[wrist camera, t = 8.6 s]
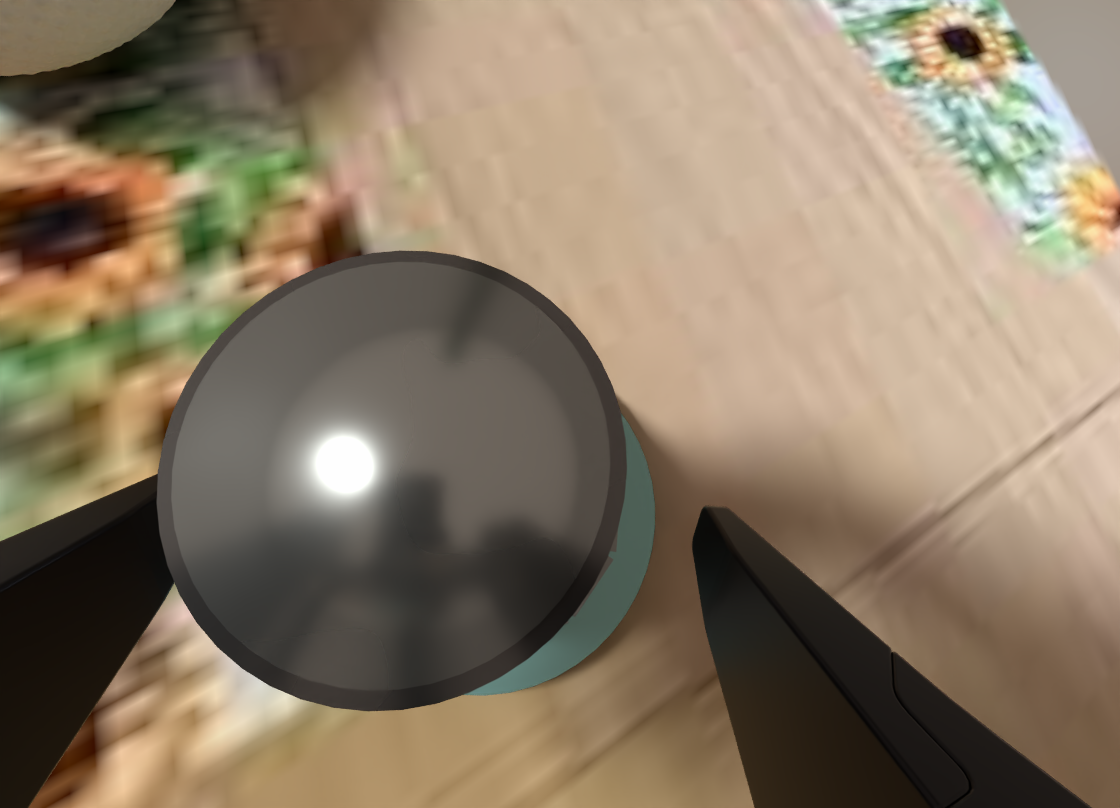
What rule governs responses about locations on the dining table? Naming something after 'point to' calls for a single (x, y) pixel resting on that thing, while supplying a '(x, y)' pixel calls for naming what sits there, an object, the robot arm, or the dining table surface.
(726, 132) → the dining table surface
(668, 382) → the dining table surface
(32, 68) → the cereal bowl
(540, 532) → the gray tube
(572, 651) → the collar
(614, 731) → the dining table surface
